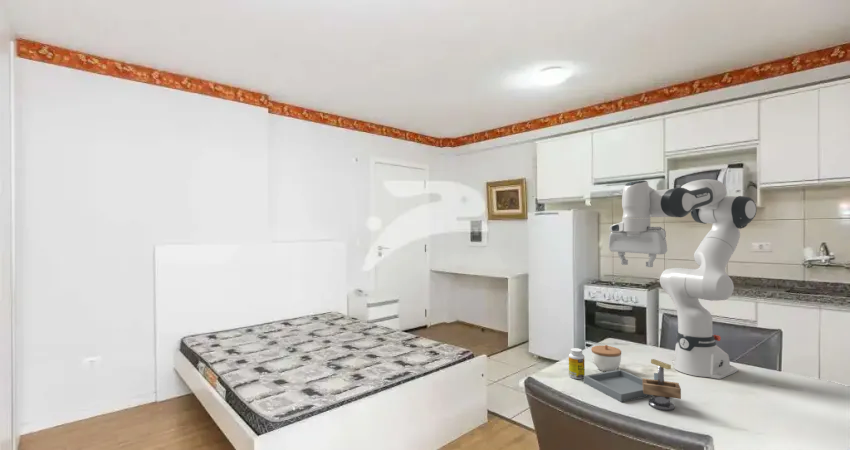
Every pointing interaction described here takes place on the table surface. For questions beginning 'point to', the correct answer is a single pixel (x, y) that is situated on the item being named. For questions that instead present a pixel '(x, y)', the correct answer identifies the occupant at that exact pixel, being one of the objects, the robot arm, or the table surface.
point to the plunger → (661, 401)
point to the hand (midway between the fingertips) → (636, 265)
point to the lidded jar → (606, 357)
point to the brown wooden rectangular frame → (661, 388)
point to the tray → (617, 385)
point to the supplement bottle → (576, 364)
